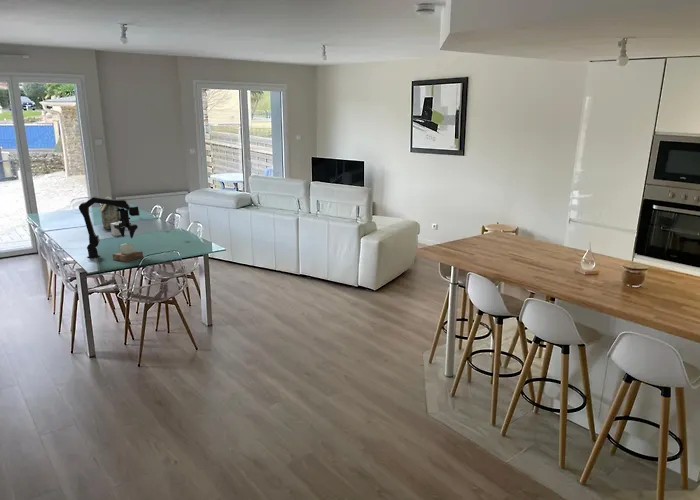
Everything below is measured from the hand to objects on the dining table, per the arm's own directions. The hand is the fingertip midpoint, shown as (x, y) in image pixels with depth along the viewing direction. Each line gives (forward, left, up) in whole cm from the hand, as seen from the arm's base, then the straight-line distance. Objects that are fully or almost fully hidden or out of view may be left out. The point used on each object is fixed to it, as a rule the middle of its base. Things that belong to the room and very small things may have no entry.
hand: (127, 237), depth 373 cm
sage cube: (+10, -9, -8) cm, 16 cm away
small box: (-61, +37, -12) cm, 72 cm away
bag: (-94, +56, -12) cm, 110 cm away
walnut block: (+10, -9, -12) cm, 18 cm away
